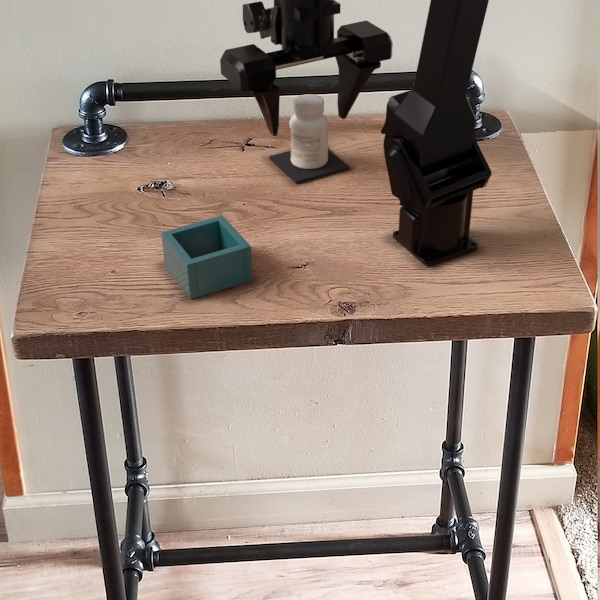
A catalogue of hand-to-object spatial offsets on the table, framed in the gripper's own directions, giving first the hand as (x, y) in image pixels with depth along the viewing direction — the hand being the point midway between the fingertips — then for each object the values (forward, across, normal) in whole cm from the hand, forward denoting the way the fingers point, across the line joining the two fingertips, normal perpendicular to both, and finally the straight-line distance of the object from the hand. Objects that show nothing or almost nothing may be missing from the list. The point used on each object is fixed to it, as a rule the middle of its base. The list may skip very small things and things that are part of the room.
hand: (308, 126), depth 112 cm
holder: (+5, +20, +15) cm, 25 cm away
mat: (+5, 0, 0) cm, 5 cm away
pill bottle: (+5, 0, 0) cm, 5 cm away
